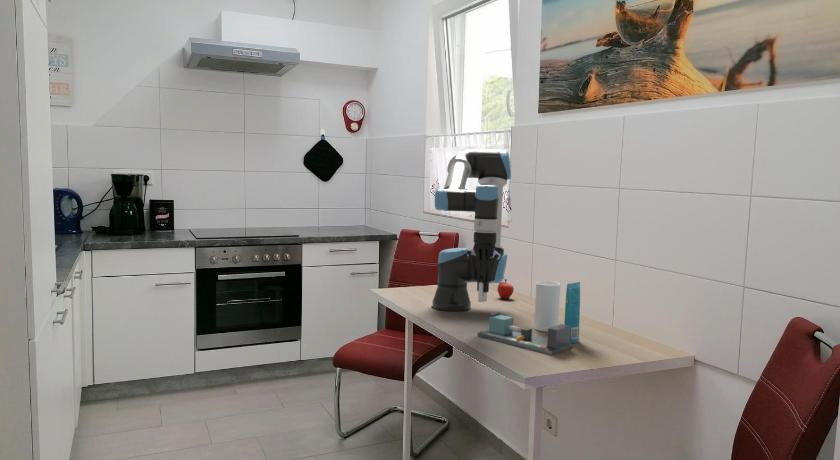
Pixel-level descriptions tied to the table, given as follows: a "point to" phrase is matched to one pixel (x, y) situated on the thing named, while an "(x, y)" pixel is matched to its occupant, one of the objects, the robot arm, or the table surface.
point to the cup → (546, 305)
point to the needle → (525, 334)
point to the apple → (505, 290)
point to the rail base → (536, 340)
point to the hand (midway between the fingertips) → (482, 301)
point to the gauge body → (502, 324)
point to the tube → (573, 310)
